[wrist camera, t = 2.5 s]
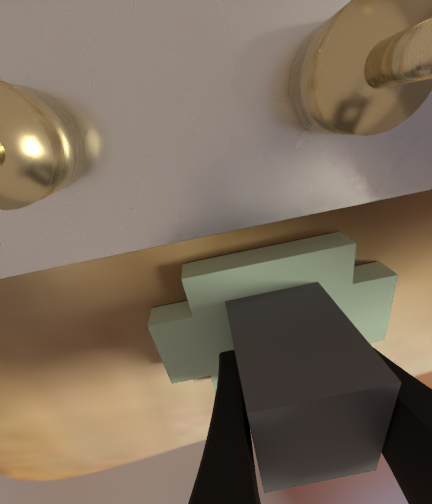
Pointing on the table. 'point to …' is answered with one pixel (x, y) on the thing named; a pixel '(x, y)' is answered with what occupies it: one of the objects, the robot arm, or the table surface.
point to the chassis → (202, 118)
